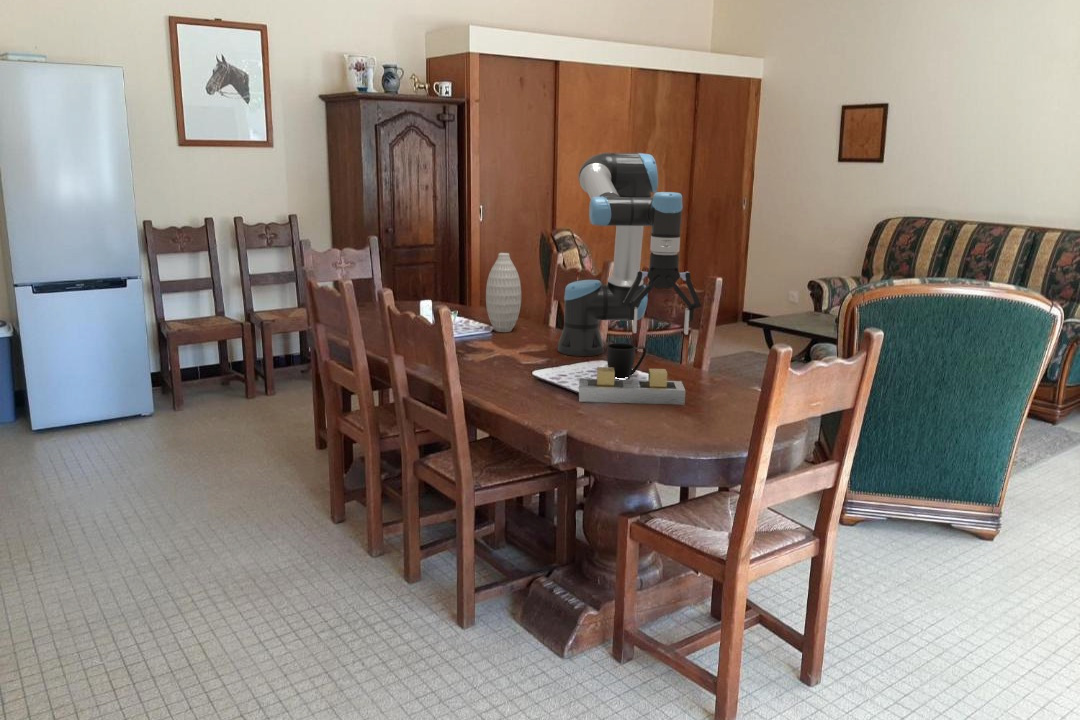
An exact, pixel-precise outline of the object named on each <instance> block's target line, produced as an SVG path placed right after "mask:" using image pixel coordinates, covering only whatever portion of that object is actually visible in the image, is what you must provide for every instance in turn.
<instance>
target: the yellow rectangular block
mask: <svg viewBox="0 0 1080 720" xmlns="http://www.w3.org/2000/svg"><path fill="white" fill-rule="evenodd" d="M647 380H648V388H664V389H666V388H667V381H668V371H667V370H666V368H648V378H647Z"/></svg>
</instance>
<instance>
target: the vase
mask: <svg viewBox="0 0 1080 720" xmlns="http://www.w3.org/2000/svg"><path fill="white" fill-rule="evenodd" d="M510 256H511V255H510V253H509V252H499V253H498V254H497V258H496V260H495V261H494V262H495V263H494V264H493V265H492V267H491V269H490V271H489V274H488V276H487V282H486V289H485V303H486V304H485V305H486V311H487V316H488V318H489V321H490V324H491V326H492V328H493V329H494V331H495V332H497V333H509V332H510V333H511V332H512V330H513V328H514V327H515V325H516V324H517V321H518V318H519V314H520V312H521V311H520V310H521V304H522V286H521V279H520V276H519V273H518V270H517V268H516V266H515V265H514V263H513V261H512V259H511V257H510Z"/></svg>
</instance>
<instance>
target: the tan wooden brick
mask: <svg viewBox="0 0 1080 720" xmlns="http://www.w3.org/2000/svg"><path fill="white" fill-rule="evenodd" d="M614 378H615V370H614V368H613V367H608V366H606V367H605V366H604V367H603V366H597V370H596V379H597V387H614Z"/></svg>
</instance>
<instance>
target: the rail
mask: <svg viewBox="0 0 1080 720" xmlns="http://www.w3.org/2000/svg"><path fill="white" fill-rule="evenodd" d="M578 381H579V383H578V402H579V403H580V402H581V403H605V404H606V403H607V404H608V403H610V404H611V403H613V404H615V403H616V404H642V405H643V404H644V405H678V406H679V405H680V406H684V405H685V403H686V392H687V391H686V389H685V387H684V384H683V381H681V380H667V388H666V389H664V388H648V379H647V380H645V379H626V380H619V379H614V387H597V378H580V377H579V378H578Z"/></svg>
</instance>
